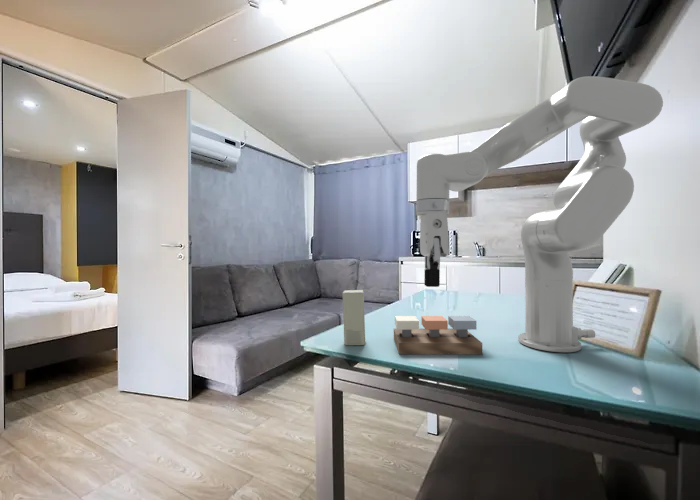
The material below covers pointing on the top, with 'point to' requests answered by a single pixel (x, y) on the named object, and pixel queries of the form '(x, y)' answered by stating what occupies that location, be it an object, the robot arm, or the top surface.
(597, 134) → the robot arm
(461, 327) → the slate key
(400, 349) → the walnut board
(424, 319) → the terracotta key
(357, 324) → the box
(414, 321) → the cream key
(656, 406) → the top surface
